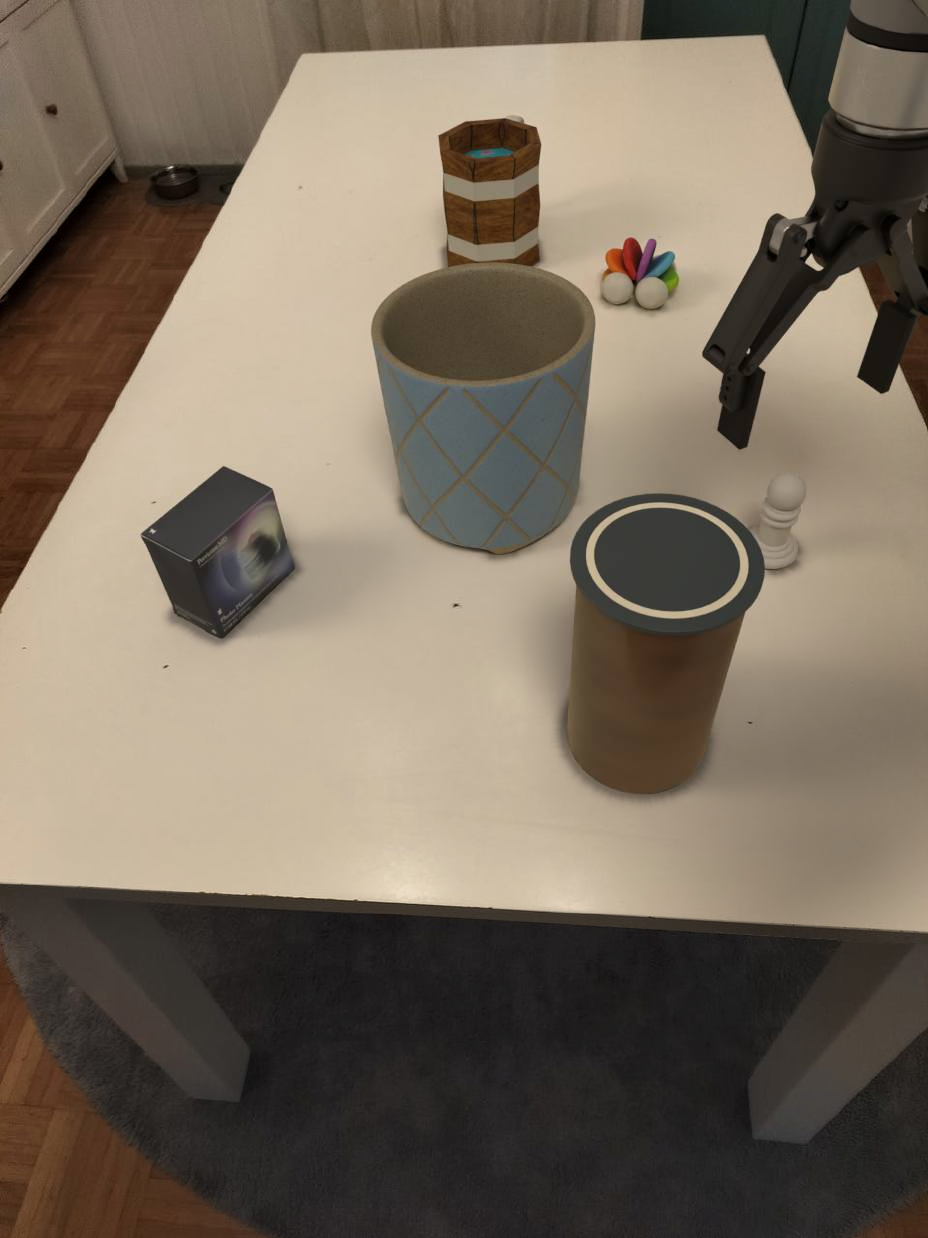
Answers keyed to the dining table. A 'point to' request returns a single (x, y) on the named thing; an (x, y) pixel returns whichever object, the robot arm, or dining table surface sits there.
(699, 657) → the walnut pedestal
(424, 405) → the planter
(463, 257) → the mug
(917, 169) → the robot arm
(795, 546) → the chess piece
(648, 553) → the slate board
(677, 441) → the dining table surface
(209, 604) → the small box
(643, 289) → the rainbow petal fan toy
